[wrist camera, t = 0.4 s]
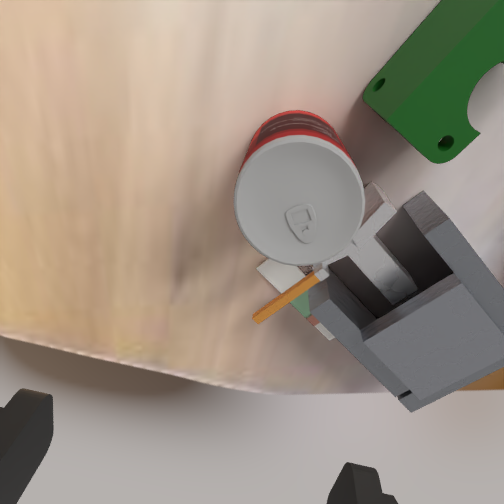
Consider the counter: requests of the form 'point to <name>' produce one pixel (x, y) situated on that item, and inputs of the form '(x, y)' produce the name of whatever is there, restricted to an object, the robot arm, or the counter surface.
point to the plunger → (358, 258)
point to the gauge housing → (424, 320)
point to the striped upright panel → (283, 280)
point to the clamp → (439, 76)
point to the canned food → (298, 191)
